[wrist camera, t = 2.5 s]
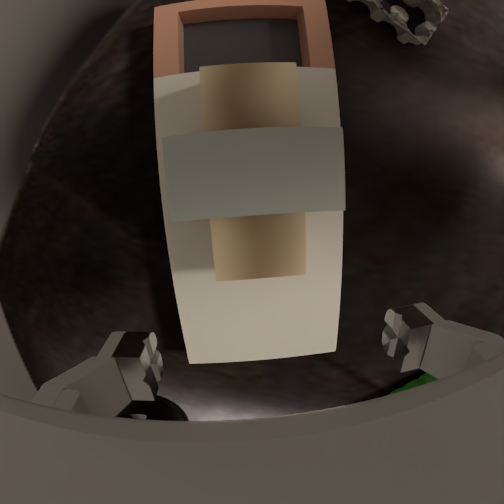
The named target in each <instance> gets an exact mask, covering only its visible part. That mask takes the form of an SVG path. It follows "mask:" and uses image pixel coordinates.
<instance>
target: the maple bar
mask: <svg viewBox="0 0 504 504" xmlns="http://www.w3.org/2000/svg"><path fill="white" fill-rule="evenodd" d="M199 73H200V94H201V113H202V129H203V132H208V131H219V130H231V129H246V128H265V127H301V114H300V101H299V88H298V77H297V67H296V62H261V63H238V64H224V65H212V66H203V67H199ZM210 227H211V237H212V247H213V256H214V265H215V274H216V282H218V281H232V280H246V279H259V278H271V277H284V276H295V275H306V223H305V212H299V213H282V214H266V215H252V216H238V217H225V218H212V219H210Z"/></svg>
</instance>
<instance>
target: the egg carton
mask: <svg viewBox="0 0 504 504" xmlns="http://www.w3.org/2000/svg"><path fill="white" fill-rule="evenodd" d="M347 1H348V2H351V1H360V2H363V3H364V4H365V5H367V6H368V8H369V9H370V17H371V18H372V19H373V20H374V21H376V22H377V23H378V22H381V21H386V22H388V23H390V24H392V25H393V26H394V28H395V29H396V31H397V39H398V40H399V41H400V42H401V43H402V44H406V43H408V42H410V43H413V44H415V45H419V44H420V43H423V44H424V46H425V45H426V44H427V42H428V41H429V40H430V38H431V36H432V35H433V34H434V32H435V30H436V29H437V27H438V26H439V25H440V23H441V22H442V21H443V20H444V18H445V17H446V15H447V14H448V11H450V10H449V9H448V8H447V7H445V6H444V3H443V2H441V1H440V0H403V1H404V2H405V3H406V4H407V5H408V6H410V7H413V8H416V7H418V8H420V9H421V10H422V11H423V12H424V14H425V15H424V16H425V19H426V22H423V23H422V24H420V25H418V26H417V27H416V28H415V34H416V36H415V35H413V34H412V33H411V32H410V30H409V29H408V28H407V21H408V19H409V18H408V14H407V12H406V11H405V10H404V9H403V8H402V7H400V6H397V5H393V6H391V8H390V12H391V13H390V14H388V13H387V12H386V10H385V9H382V10H381V9H380V8H381V7H382V8H383V5H382V4H380V2H381V1H383V0H347Z"/></svg>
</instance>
